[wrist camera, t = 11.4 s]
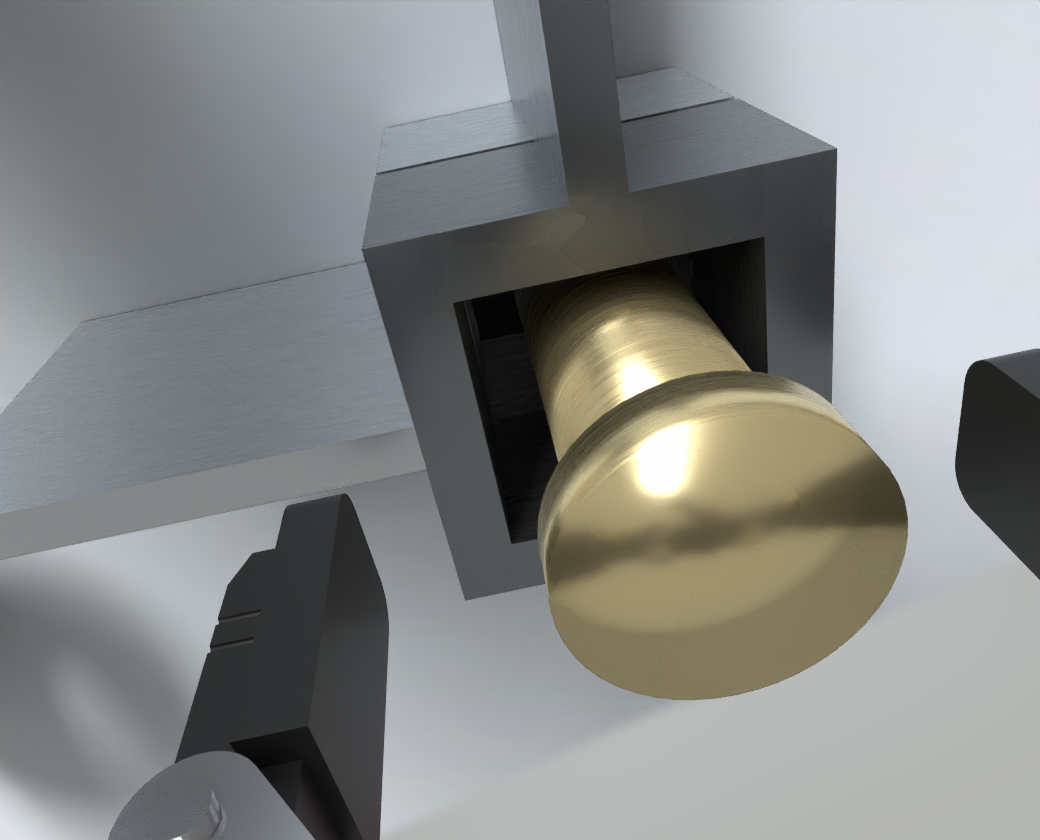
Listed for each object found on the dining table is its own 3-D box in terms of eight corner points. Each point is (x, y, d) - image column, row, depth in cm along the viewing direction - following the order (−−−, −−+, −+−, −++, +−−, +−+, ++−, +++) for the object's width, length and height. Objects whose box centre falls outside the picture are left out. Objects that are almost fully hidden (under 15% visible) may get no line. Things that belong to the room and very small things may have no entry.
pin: (496, 327, 20) (577, 728, 10) (462, 167, 18) (518, 464, 8) (654, 294, 20) (896, 661, 10) (637, 130, 18) (922, 378, 8)
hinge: (145, 448, 21) (12, 696, 14) (-401, -628, 11) (-1635, -1481, 5) (694, 331, 21) (828, 523, 14) (605, -846, 11) (885, -2035, 5)
